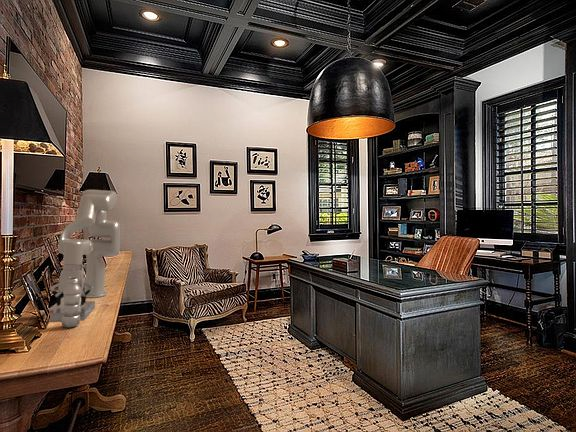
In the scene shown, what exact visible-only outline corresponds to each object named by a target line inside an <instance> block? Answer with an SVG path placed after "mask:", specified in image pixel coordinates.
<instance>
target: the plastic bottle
mask: <svg viewBox="0 0 576 432" xmlns="http://www.w3.org/2000/svg"><path fill="white" fill-rule="evenodd" d="M81 293H82V290H81V288H80V286H79V285H78V278H68V285H67V287H66V288H65V289H64V291H63V293H62V294H63V297H64V312H63V317H62V321H60V322H61V327H63V328H67V329H69V328H74V327H77V326H79V324H80V321H81V320H80V315H79V303H80V297H82V294H81Z"/></svg>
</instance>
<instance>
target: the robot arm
mask: <svg viewBox="0 0 576 432" xmlns="http://www.w3.org/2000/svg"><path fill="white" fill-rule="evenodd" d="M81 196H82V197H80V201H79V205H78V209H77V213H76V217H75V219H74V220H73V221H71V222H70V223H69V224H67V225H66V226H65V228H64V229H62V231H61V233H60V237H59V240H58V245H57V249H58V250H57V251H58V252H59V254H62V255H63V259H62V260H63V263H62V270H61V272H60V276H59V278H58V279H59V280H58V283H56V284H54V285H51V286H49V290H50V292H51V294H52V295H54V297H55V304H57V306H59V305H60V304H61V298H62V294H63V291H64V289H65V288H66V287H67V285H68V278H78V285H79V286H80V288H81V290H82V293H81V305H83V304H84V303H85V302H86V299H88V298H90V299H91V298H100V297H101V298H102V297H105V296H107V295H108V292H107V291H105V281H106V276H105V275H106V262H105V261H104V259H103V258H102V257H113V258H114V257H117V256H119V254H120V251H121V224H120V223H119V221H115V220H107V212H108V211H109V212H110V211H111V210H112V209H113V208H114V207H116V205H117V203H118V194H117V192H116V191H114V190H104V189H103V190H101V189H86V190H84V191H82V194H81ZM87 228H88V233H89V235H90V236H91V237H94V238H98V239H85V238H83V239H82V238H70V237H71V236H72V235H73V234H75V233H77V232H79V231H81V230H85V229H87ZM99 238H100V239H99ZM101 238H109V239H101ZM83 256H85V257H86V260H85V261H86V264H83V259H84V258H83ZM84 269H85V270H84ZM55 288H58V289H57V290H56V289H55Z"/></svg>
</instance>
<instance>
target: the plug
mask: <svg viewBox="0 0 576 432" xmlns="http://www.w3.org/2000/svg"><path fill="white" fill-rule="evenodd" d="M81 297H82V296H81ZM81 297H80V303H81ZM80 303H79V306H80ZM60 310H64V296H62V297H61V306H60Z"/></svg>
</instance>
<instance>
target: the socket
mask: <svg viewBox="0 0 576 432" xmlns="http://www.w3.org/2000/svg"><path fill="white" fill-rule="evenodd" d="M60 306H61V304H60V305H59V306H57V304H56V303H55V304H54V305H52V306H50V307H49V308H48V309H49V315H50V321H49V322H61V321H62V317H63V312H64V310H60ZM95 306H96V301H95V300H94V301H92V300H91V301H86V302H85V303H84V304H83V305H81V303H80V306H79V315H80V321H85V320H86V319H87V318H88V317H89V316H90V314H91V313H92V312H93V311H94V310H95V309H96V307H95Z"/></svg>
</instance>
